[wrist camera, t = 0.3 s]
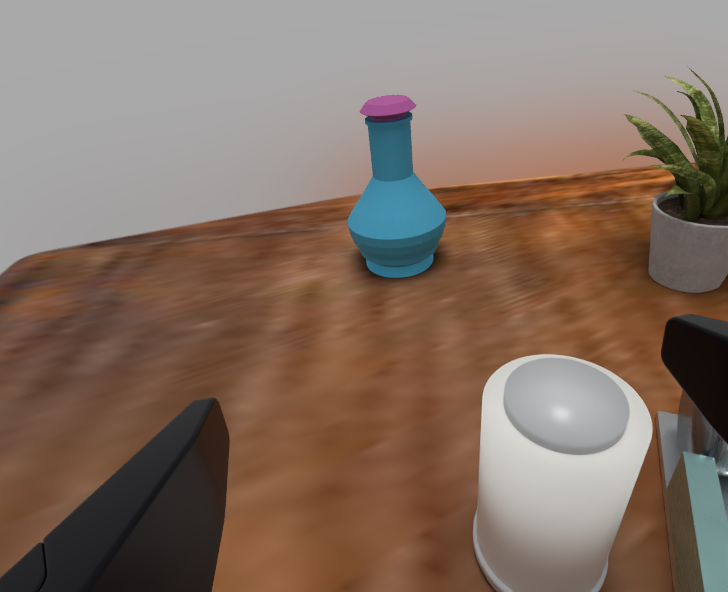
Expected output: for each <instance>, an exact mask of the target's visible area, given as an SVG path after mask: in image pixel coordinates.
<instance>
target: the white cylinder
mask: <svg viewBox="0 0 728 592" xmlns="http://www.w3.org/2000/svg"><path fill="white" fill-rule="evenodd" d="M651 438H652V421H651V417H650V414H649V411H648V409H647V407H646V405H645V404H644V402H643V400H642V399H641V397H640V396H639V395H638V394H637V393H636V391H635V390H634V389H633V388H632V387H631V386H630V385H628V384H627V383H626V382H625V381H624V380H622V379H621V378H620V377H618V376H617V375H615V374H614V373H612V372H610V371H608V370H606V369H605V368H603V367H601V366H598V365H596V364H594V363H591V362H588V361H585V360H582V359H578V358H574V357H569V356H563V355H548V354H543V355H533V356H526V357H523V358H519V359H516V360H513V361H511V362H509V363H507V364H505V365H503V366H502V367H501V368H499V369H498V370H497V371H496V372H495V373H494V374H492V376H491V377H490V378H489V380H488V382H487V383H486V385H485V388H484V392H483V398H482V417H481V439H480V461H479V482H478V504H477V511H476V514H475V518H474V524H473V546H474V552H475V555H476V558H477V561H478V563H479V566H480V568H481V570H482V571H483V573H484V575H485V577H486V578H487V580H488V582H489V583H490V584H491V586H492V587H493V588H494V589H495V590H496V591H497V592H599V591H600V589H601V587H602V585H603V582H604V579H605V576H606V574H607V569H608V556H609V553H610V551H611V548H612V545H613V542H614V540H615V537H616V534H617V531H618V529H619V526H620V523H621V521H622V518H623V515H624V512H625V510H626V507H627V504H628V501H629V499H630V496H631V493H632V491H633V488H634V485H635V482H636V480H637V477H638V474H639V471H640V469H641V466H642V463H643V461H644V458H645V455H646V452H647V450H648V447H649V444H650V441H651Z"/></svg>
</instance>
